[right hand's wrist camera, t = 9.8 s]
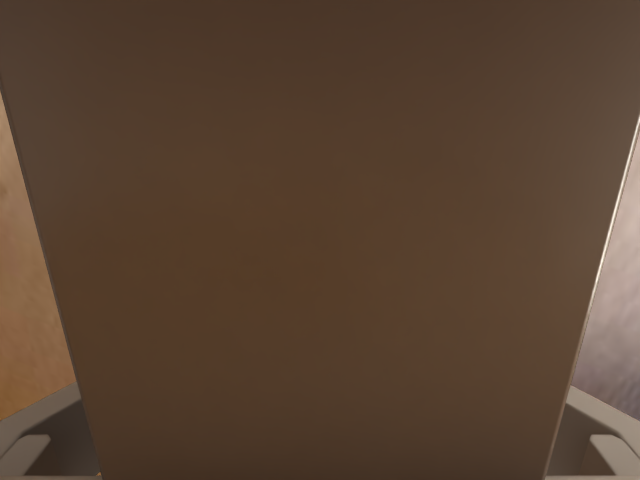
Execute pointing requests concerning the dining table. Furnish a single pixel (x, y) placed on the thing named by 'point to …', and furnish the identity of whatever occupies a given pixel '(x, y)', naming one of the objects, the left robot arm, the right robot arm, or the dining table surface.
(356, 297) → the bar
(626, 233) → the dining table surface
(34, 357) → the dining table surface
